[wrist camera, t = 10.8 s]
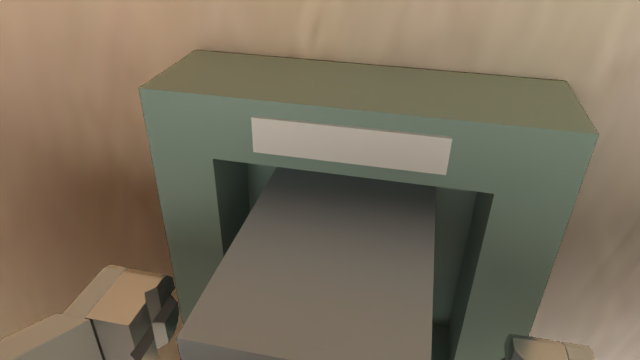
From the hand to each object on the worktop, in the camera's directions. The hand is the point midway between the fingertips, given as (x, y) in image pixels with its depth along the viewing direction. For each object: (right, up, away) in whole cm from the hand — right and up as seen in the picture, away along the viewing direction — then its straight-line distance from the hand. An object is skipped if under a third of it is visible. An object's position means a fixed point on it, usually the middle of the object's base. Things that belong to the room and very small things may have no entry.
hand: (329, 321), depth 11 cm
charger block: (+1, +2, +3) cm, 3 cm away
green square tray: (+1, +2, +3) cm, 4 cm away
